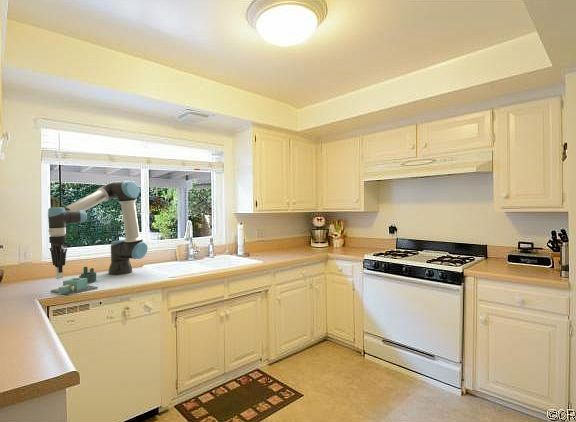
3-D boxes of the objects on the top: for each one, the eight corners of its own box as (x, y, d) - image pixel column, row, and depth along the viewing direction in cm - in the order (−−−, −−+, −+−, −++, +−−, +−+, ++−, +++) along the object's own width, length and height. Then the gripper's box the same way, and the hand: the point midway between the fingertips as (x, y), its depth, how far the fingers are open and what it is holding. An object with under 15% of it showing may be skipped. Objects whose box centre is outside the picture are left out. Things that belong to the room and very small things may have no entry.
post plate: (81, 285, 190) (81, 277, 190) (97, 288, 182) (97, 279, 182) (50, 291, 175) (50, 282, 175) (67, 295, 168) (67, 285, 168)
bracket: (85, 280, 204) (84, 266, 204) (99, 280, 205) (99, 266, 205) (76, 283, 195) (76, 269, 195) (91, 283, 196) (91, 268, 196)
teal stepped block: (74, 286, 183) (73, 277, 183) (87, 286, 182) (87, 278, 182) (54, 293, 169) (54, 283, 169) (68, 293, 168) (68, 283, 168)
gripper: (43, 235, 176) (45, 278, 176) (56, 236, 170) (58, 281, 170) (58, 234, 182) (60, 275, 183) (71, 235, 176) (73, 277, 177)
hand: (59, 278), depth 177 cm, fingers closed
